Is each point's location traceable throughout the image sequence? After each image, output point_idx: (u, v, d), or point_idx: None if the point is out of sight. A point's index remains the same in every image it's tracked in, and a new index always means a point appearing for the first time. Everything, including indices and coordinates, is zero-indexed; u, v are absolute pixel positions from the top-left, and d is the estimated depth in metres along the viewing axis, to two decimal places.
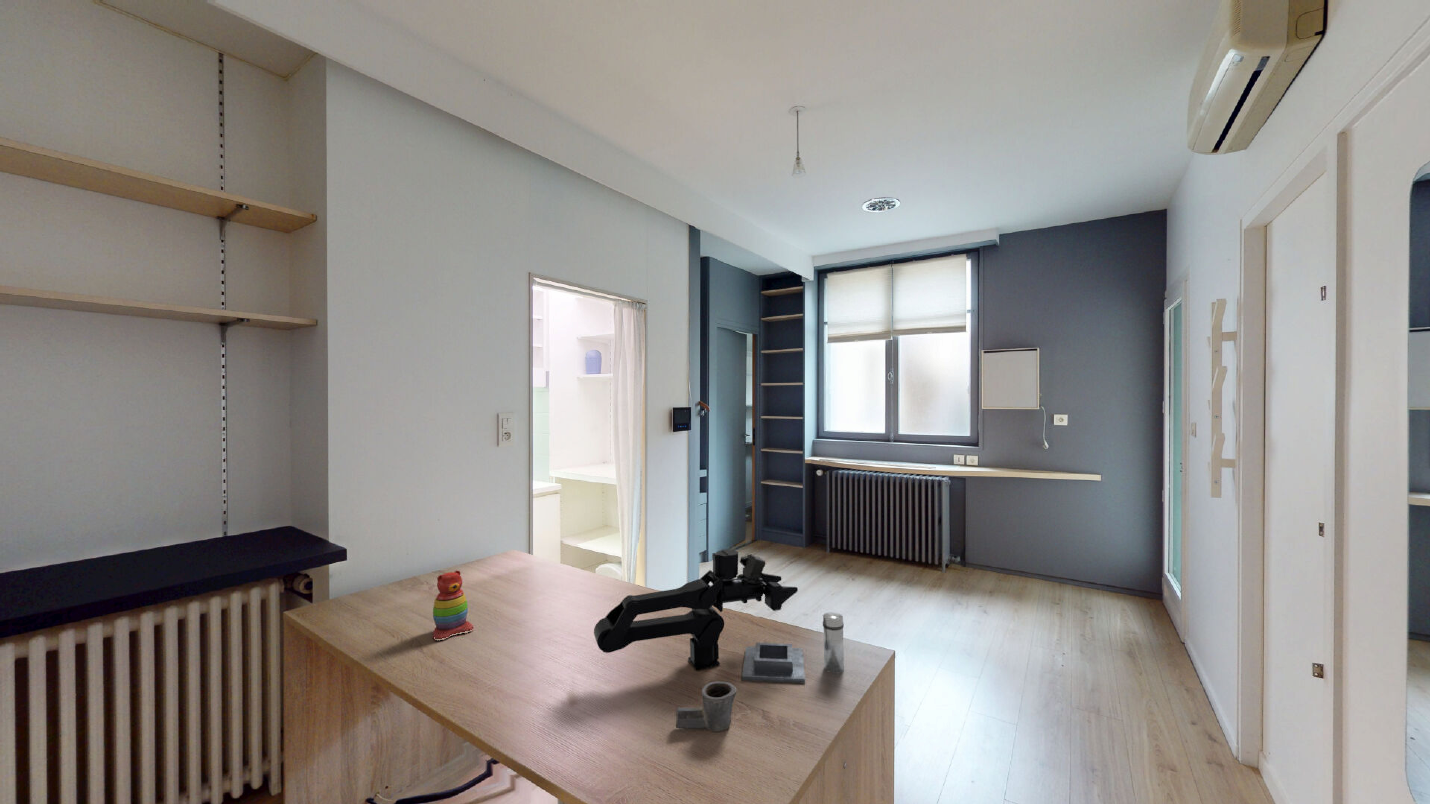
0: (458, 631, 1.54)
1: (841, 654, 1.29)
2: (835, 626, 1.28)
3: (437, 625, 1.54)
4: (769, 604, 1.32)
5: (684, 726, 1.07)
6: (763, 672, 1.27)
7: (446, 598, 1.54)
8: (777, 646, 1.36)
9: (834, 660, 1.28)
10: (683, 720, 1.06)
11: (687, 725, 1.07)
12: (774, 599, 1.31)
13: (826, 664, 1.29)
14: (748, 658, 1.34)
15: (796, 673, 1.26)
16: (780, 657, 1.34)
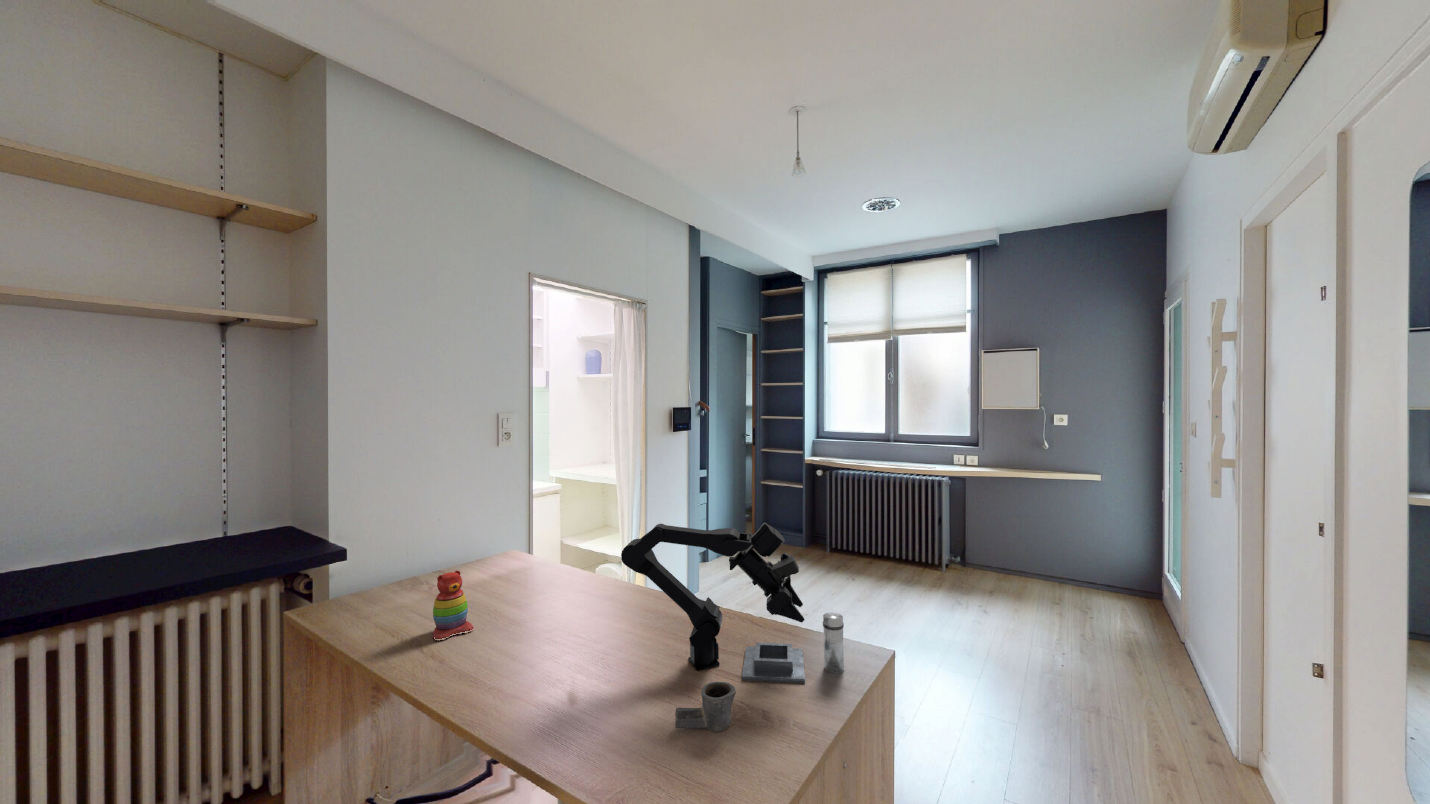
0: (458, 631, 1.54)
1: (841, 654, 1.29)
2: (835, 626, 1.28)
3: (437, 625, 1.54)
4: (768, 601, 1.24)
5: (683, 726, 1.07)
6: (763, 672, 1.27)
7: (446, 598, 1.54)
8: (777, 646, 1.36)
9: (834, 660, 1.28)
10: (683, 720, 1.06)
11: (686, 725, 1.07)
12: (775, 601, 1.23)
13: (826, 664, 1.29)
14: (748, 658, 1.34)
15: (796, 673, 1.26)
16: (780, 657, 1.34)
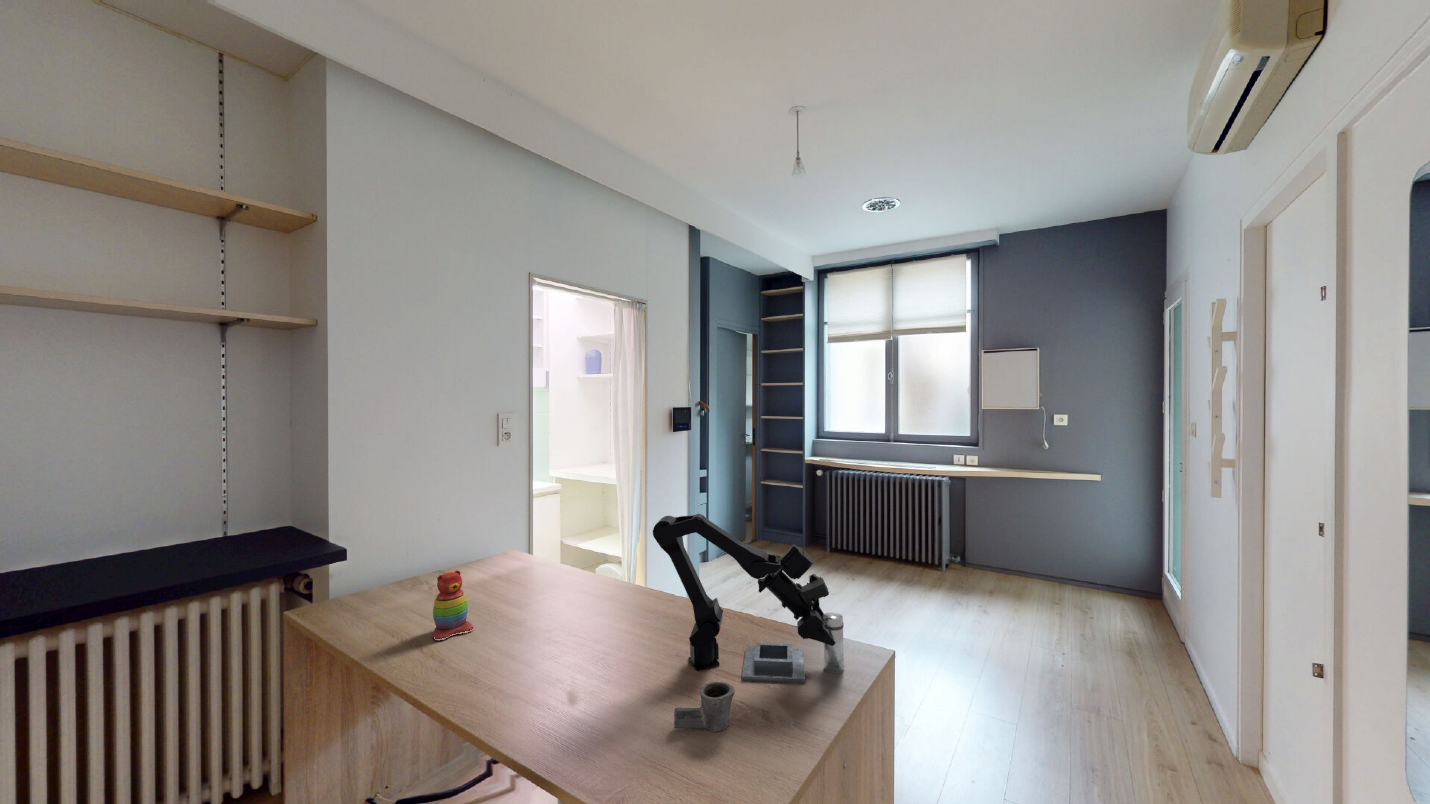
0: (458, 631, 1.54)
1: (841, 654, 1.29)
2: (835, 626, 1.28)
3: (437, 625, 1.54)
4: (799, 625, 1.23)
5: (682, 726, 1.07)
6: (763, 672, 1.27)
7: (446, 598, 1.54)
8: (777, 646, 1.36)
9: (834, 660, 1.28)
10: (681, 720, 1.06)
11: (685, 725, 1.07)
12: (807, 625, 1.22)
13: (826, 664, 1.29)
14: (748, 658, 1.34)
15: (796, 673, 1.26)
16: (780, 657, 1.34)
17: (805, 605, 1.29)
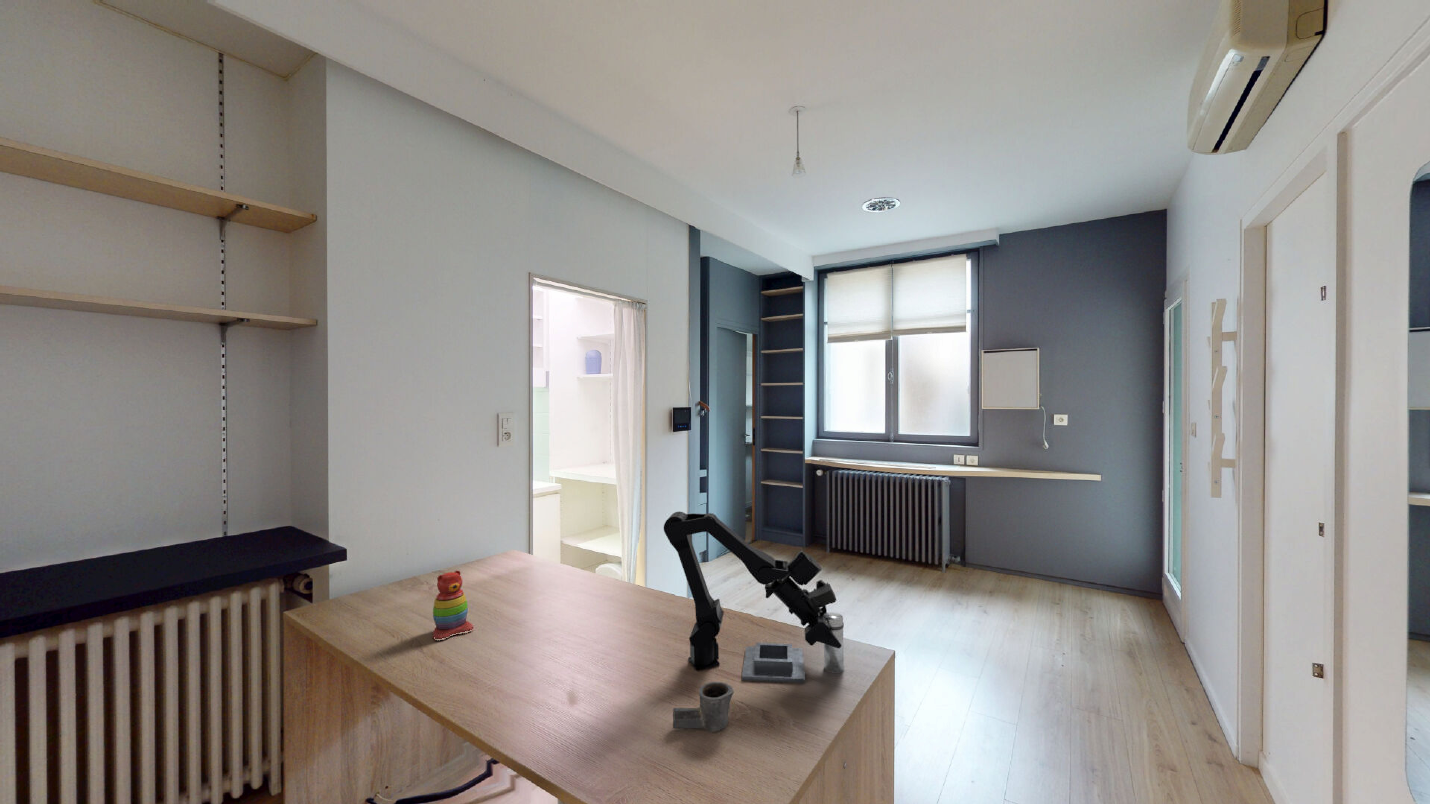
0: (458, 631, 1.54)
1: (841, 654, 1.29)
2: (835, 626, 1.28)
3: (437, 625, 1.54)
4: (806, 631, 1.23)
5: (681, 726, 1.07)
6: (763, 672, 1.27)
7: (446, 598, 1.54)
8: (777, 646, 1.36)
9: (834, 660, 1.28)
10: (680, 720, 1.06)
11: (684, 725, 1.07)
12: (814, 631, 1.22)
13: (826, 664, 1.29)
14: (748, 658, 1.34)
15: (796, 673, 1.26)
16: (780, 657, 1.34)
17: (812, 611, 1.28)
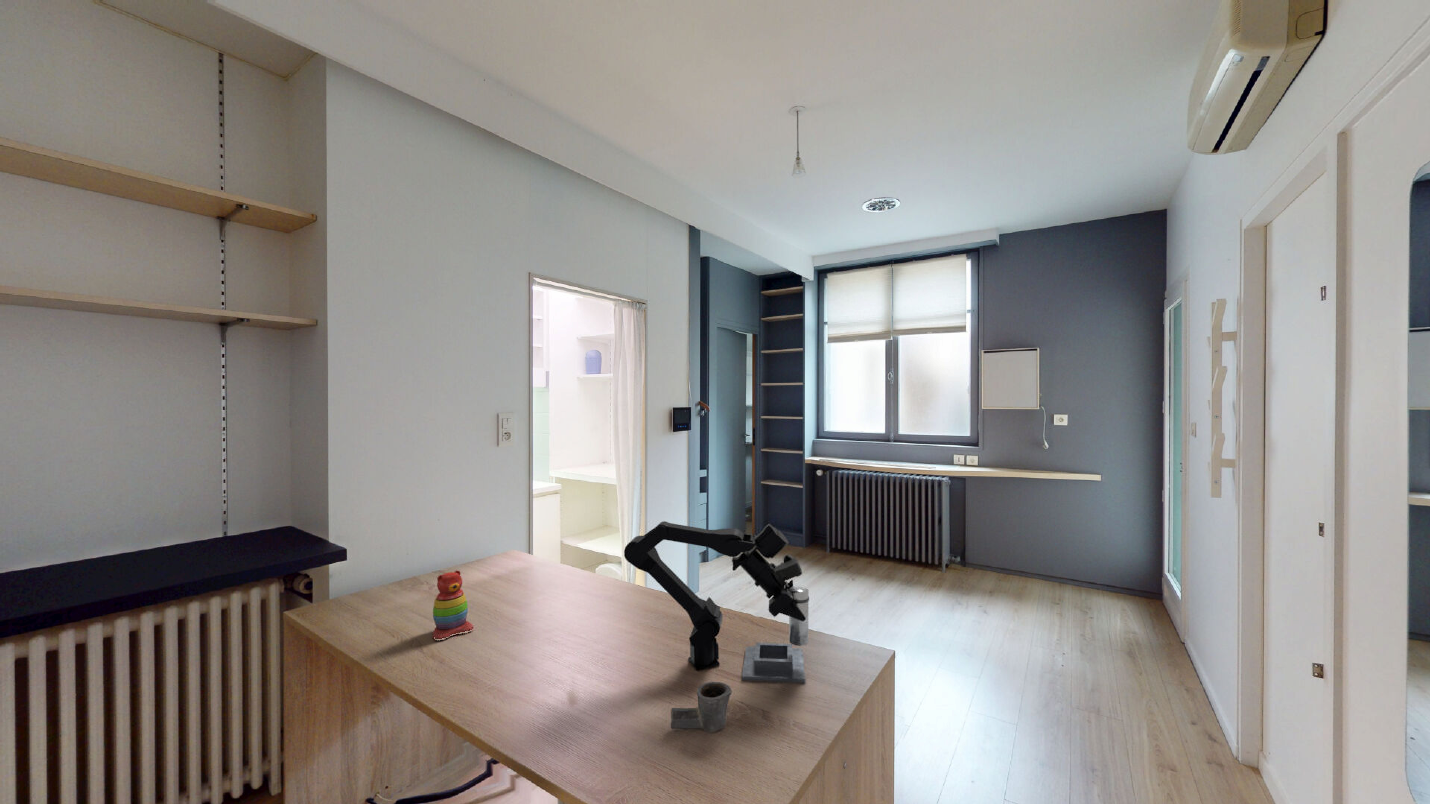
0: (458, 631, 1.54)
1: (805, 627, 1.30)
2: (800, 599, 1.29)
3: (437, 625, 1.54)
4: (770, 602, 1.24)
5: (679, 726, 1.07)
6: (763, 672, 1.27)
7: (446, 598, 1.54)
8: (777, 646, 1.36)
9: (798, 632, 1.29)
10: (678, 720, 1.06)
11: (682, 725, 1.07)
12: (778, 602, 1.23)
13: (791, 637, 1.30)
14: (748, 658, 1.34)
15: (796, 673, 1.26)
16: (780, 657, 1.34)
17: (778, 584, 1.29)
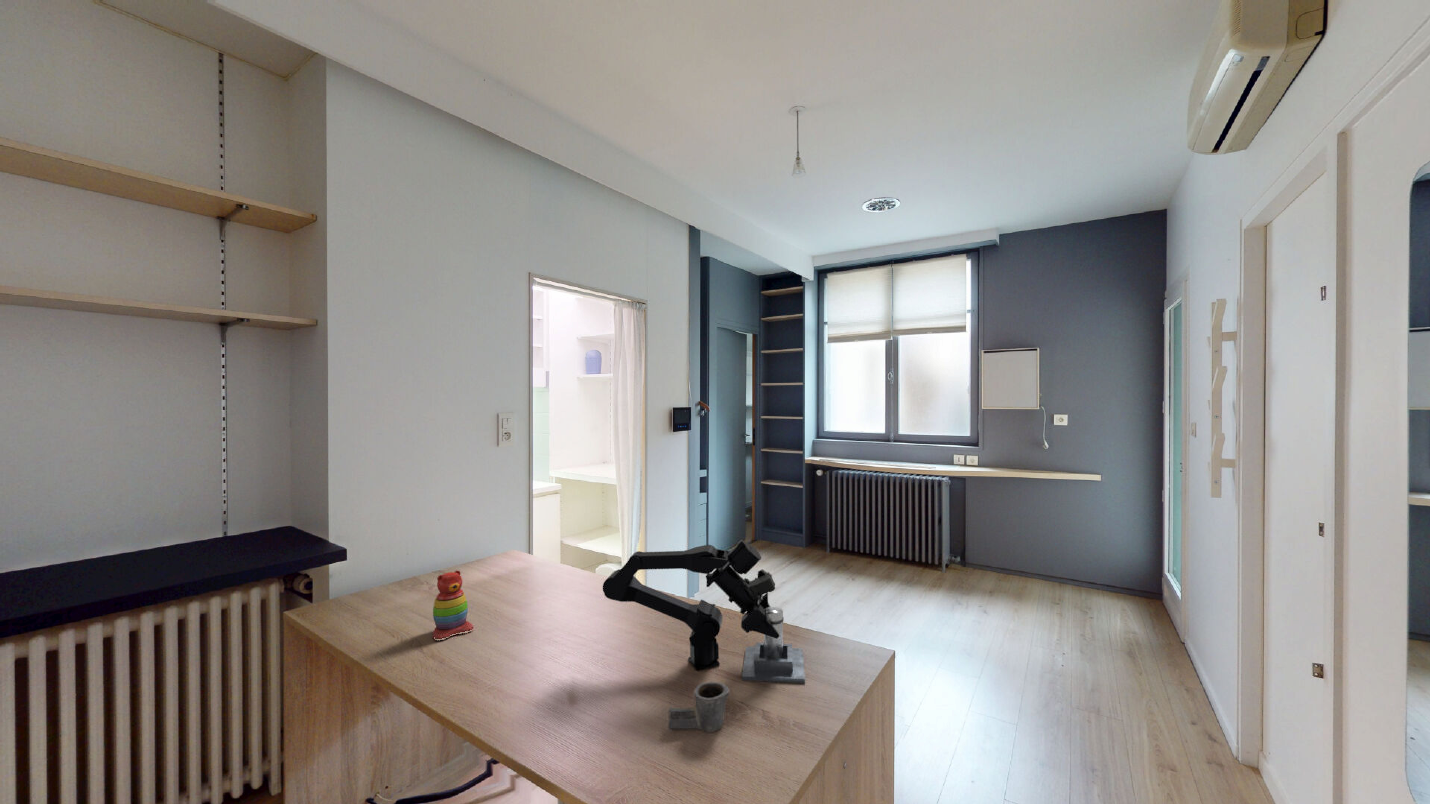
0: (458, 631, 1.54)
1: (780, 648, 1.30)
2: (774, 620, 1.30)
3: (437, 625, 1.54)
4: (743, 619, 1.25)
5: (676, 727, 1.07)
6: (763, 672, 1.27)
7: (446, 598, 1.54)
8: None
9: (772, 653, 1.30)
10: (676, 720, 1.06)
11: (679, 726, 1.07)
12: (750, 619, 1.24)
13: (765, 657, 1.31)
14: (748, 658, 1.34)
15: (796, 673, 1.26)
16: None
17: (751, 600, 1.30)
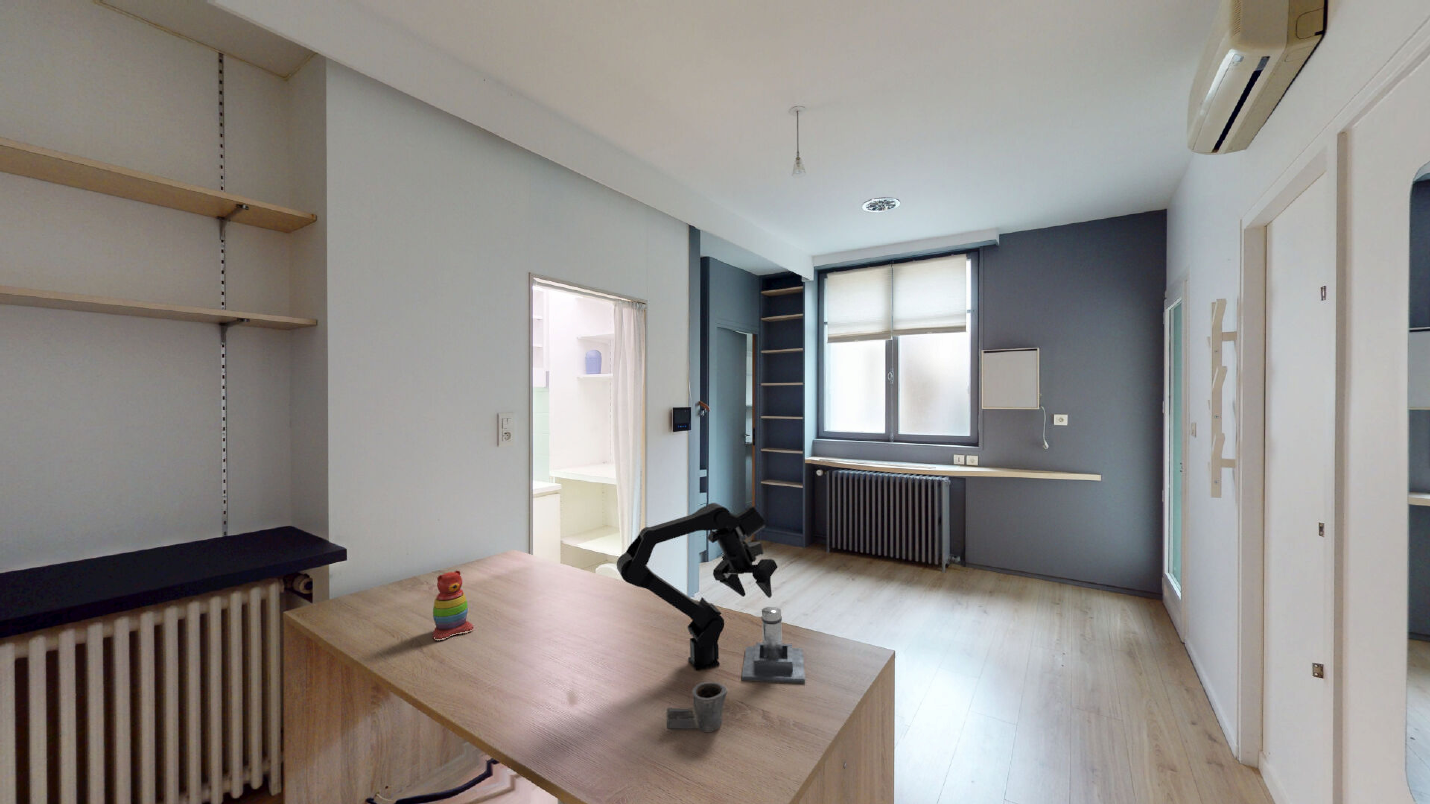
0: (458, 631, 1.54)
1: (779, 647, 1.30)
2: (772, 620, 1.30)
3: (437, 625, 1.54)
4: (761, 568, 1.32)
5: (674, 727, 1.07)
6: (763, 672, 1.27)
7: (446, 598, 1.54)
8: None
9: (772, 653, 1.30)
10: (674, 720, 1.06)
11: (677, 726, 1.07)
12: (770, 566, 1.32)
13: (765, 658, 1.31)
14: (748, 658, 1.34)
15: (796, 673, 1.26)
16: None
17: (750, 559, 1.38)
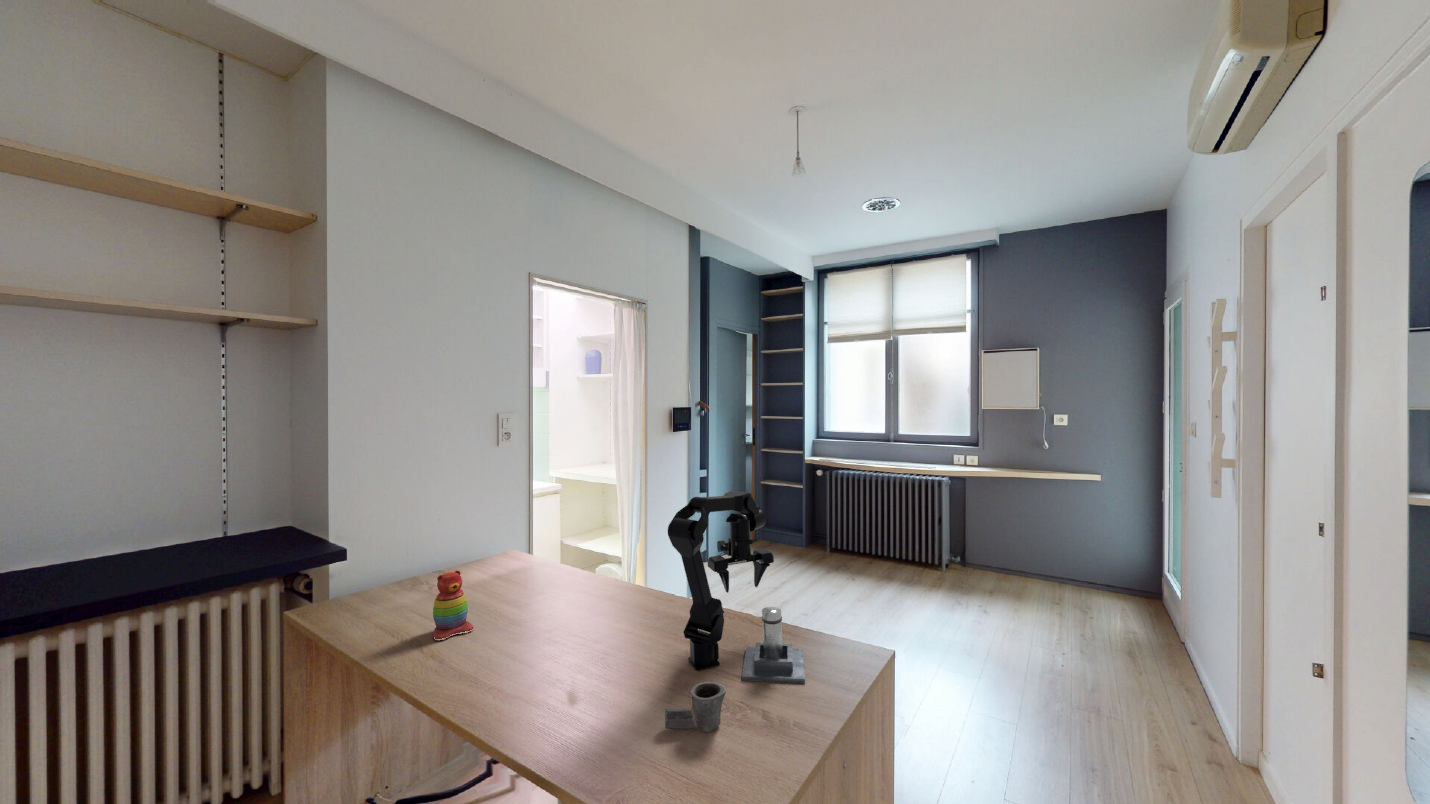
0: (458, 631, 1.54)
1: (779, 647, 1.30)
2: (773, 620, 1.30)
3: (437, 625, 1.54)
4: (768, 552, 1.52)
5: (673, 727, 1.06)
6: (763, 672, 1.27)
7: (446, 598, 1.54)
8: None
9: (772, 653, 1.30)
10: (672, 720, 1.06)
11: (676, 726, 1.07)
12: None
13: (765, 658, 1.31)
14: (748, 658, 1.34)
15: (796, 673, 1.26)
16: None
17: None
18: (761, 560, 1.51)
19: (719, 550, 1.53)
